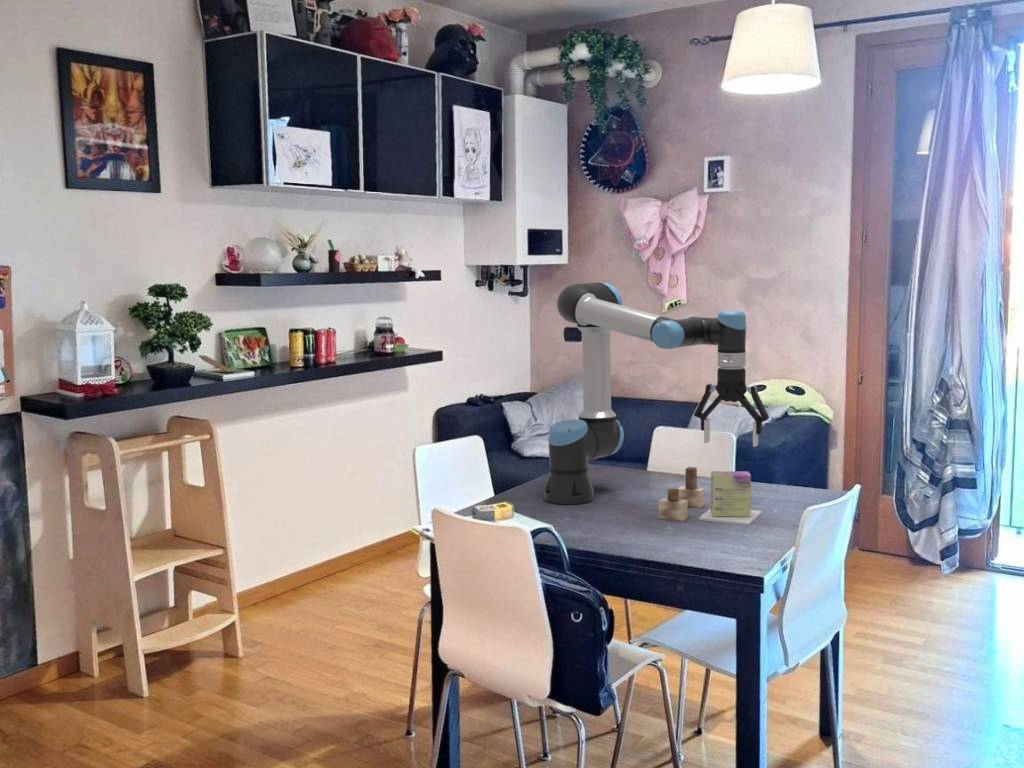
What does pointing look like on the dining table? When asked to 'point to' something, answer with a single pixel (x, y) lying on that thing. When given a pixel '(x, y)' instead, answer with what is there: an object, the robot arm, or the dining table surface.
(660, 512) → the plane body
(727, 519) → the pad
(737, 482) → the box
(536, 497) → the dining table surface
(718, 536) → the dining table surface
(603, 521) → the dining table surface
